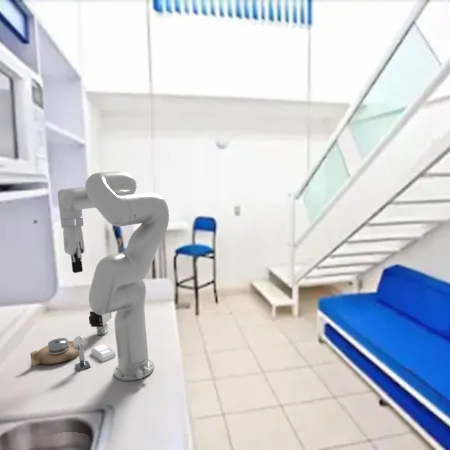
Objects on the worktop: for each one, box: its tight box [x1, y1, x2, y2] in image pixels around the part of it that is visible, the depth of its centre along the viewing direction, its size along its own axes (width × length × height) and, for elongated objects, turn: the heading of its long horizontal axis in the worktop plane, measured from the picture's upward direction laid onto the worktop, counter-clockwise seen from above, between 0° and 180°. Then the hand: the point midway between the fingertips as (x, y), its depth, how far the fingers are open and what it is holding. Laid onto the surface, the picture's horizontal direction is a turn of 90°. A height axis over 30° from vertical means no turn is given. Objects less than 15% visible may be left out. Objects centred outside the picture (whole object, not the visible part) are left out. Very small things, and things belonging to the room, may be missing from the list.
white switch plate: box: [90, 344, 117, 362], centre depth 134 cm, size 5×9×3 cm, turn 44°
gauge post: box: [72, 335, 91, 372], centre depth 126 cm, size 4×4×11 cm
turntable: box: [29, 340, 79, 366], centre depth 134 cm, size 17×15×4 cm
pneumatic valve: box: [88, 310, 112, 336], centre depth 153 cm, size 6×12×12 cm, turn 174°
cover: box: [47, 337, 69, 355], centre depth 135 cm, size 7×7×4 cm
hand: (77, 271), depth 139 cm, fingers closed
